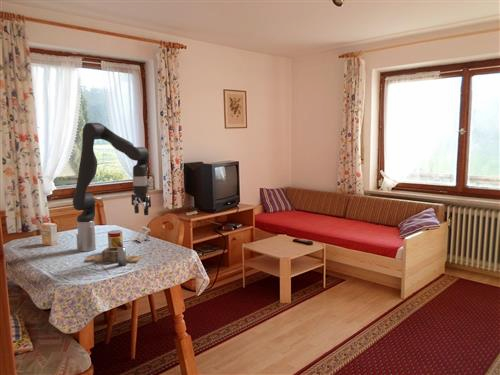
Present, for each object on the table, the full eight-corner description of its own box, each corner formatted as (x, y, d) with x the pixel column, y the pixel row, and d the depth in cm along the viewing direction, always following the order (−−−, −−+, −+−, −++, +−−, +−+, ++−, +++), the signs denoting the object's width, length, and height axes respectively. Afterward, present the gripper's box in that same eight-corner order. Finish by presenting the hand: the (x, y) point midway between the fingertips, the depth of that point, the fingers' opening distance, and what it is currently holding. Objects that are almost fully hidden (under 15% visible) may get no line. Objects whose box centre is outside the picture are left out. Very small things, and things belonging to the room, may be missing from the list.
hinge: (84, 262, 206) (83, 251, 205) (91, 257, 214) (91, 246, 213) (136, 262, 204) (136, 251, 203) (142, 258, 212) (141, 247, 211)
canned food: (125, 251, 224) (124, 231, 223) (112, 254, 219) (111, 233, 217) (119, 249, 230) (118, 229, 228) (106, 251, 224) (105, 231, 223)
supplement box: (41, 244, 241) (40, 223, 239) (48, 242, 245) (47, 222, 243) (51, 245, 238) (50, 225, 236) (58, 243, 242) (56, 223, 240)
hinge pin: (116, 266, 199) (116, 249, 198) (120, 263, 203) (119, 247, 202) (124, 266, 198) (123, 249, 197) (127, 263, 202) (126, 247, 201)
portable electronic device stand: (134, 240, 249) (134, 227, 248) (146, 238, 254) (145, 226, 253) (141, 243, 243) (140, 230, 242) (152, 241, 248) (151, 228, 247)
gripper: (126, 184, 210) (127, 213, 212) (142, 186, 201) (143, 216, 203) (138, 182, 216) (139, 211, 218) (154, 184, 207) (155, 214, 209)
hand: (141, 214), depth 211 cm, fingers open, 8 cm apart
